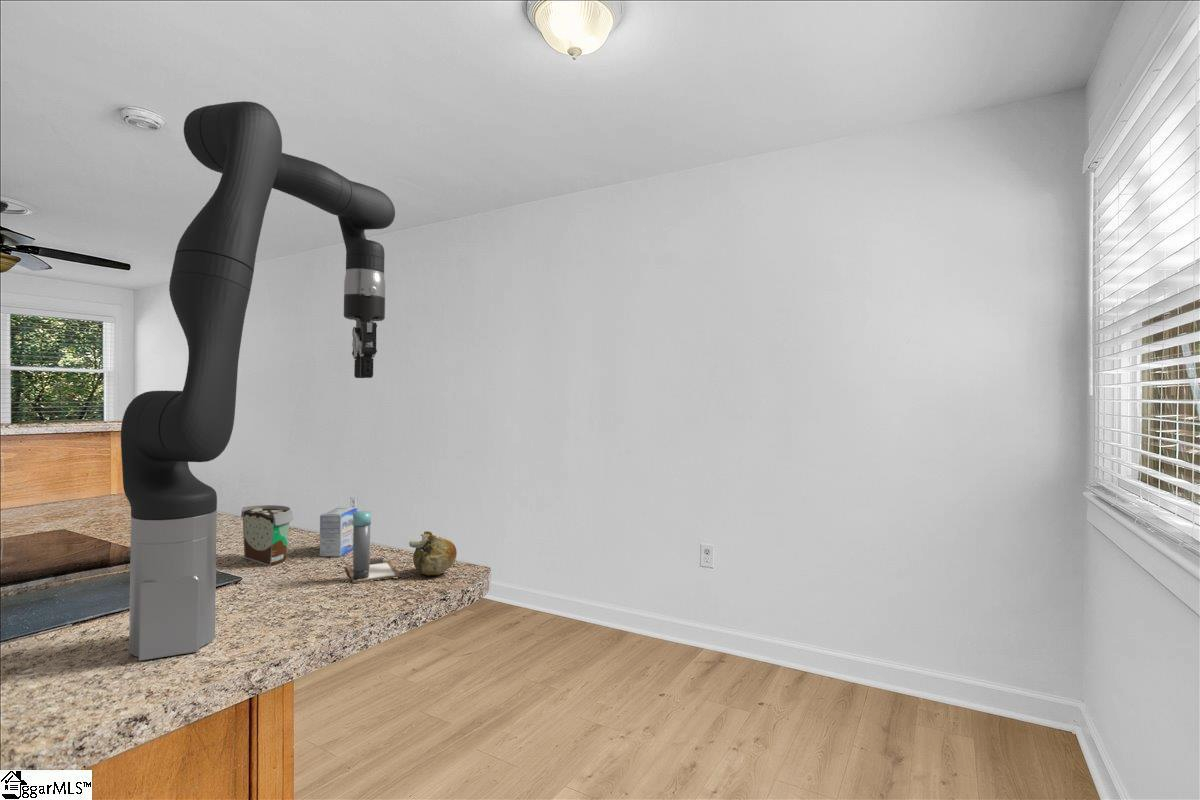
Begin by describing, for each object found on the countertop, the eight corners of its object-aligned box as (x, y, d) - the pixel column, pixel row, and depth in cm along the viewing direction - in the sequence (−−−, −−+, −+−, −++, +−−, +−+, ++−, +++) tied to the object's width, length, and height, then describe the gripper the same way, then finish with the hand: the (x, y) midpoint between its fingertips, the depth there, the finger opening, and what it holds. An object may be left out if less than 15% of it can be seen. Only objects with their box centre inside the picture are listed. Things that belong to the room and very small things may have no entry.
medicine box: (340, 557, 121) (341, 514, 121) (318, 557, 121) (319, 514, 121) (357, 547, 129) (358, 507, 129) (336, 546, 129) (337, 506, 129)
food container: (305, 560, 118) (306, 509, 118) (275, 567, 113) (275, 514, 113) (271, 550, 125) (271, 502, 125) (240, 556, 120) (241, 506, 120)
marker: (371, 578, 107) (372, 513, 107) (353, 580, 105) (354, 515, 105) (368, 573, 109) (369, 510, 109) (350, 575, 108) (352, 511, 108)
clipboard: (400, 577, 109) (400, 571, 109) (353, 583, 105) (353, 577, 105) (389, 562, 118) (389, 556, 118) (345, 567, 114) (345, 561, 114)
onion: (447, 581, 107) (448, 536, 107) (404, 578, 108) (405, 534, 108) (461, 568, 115) (462, 527, 115) (421, 566, 116) (422, 525, 116)
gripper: (339, 297, 122) (338, 377, 122) (348, 288, 110) (347, 377, 110) (378, 301, 126) (377, 378, 126) (391, 292, 113) (390, 378, 114)
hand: (363, 377), depth 118 cm, fingers open, 8 cm apart
